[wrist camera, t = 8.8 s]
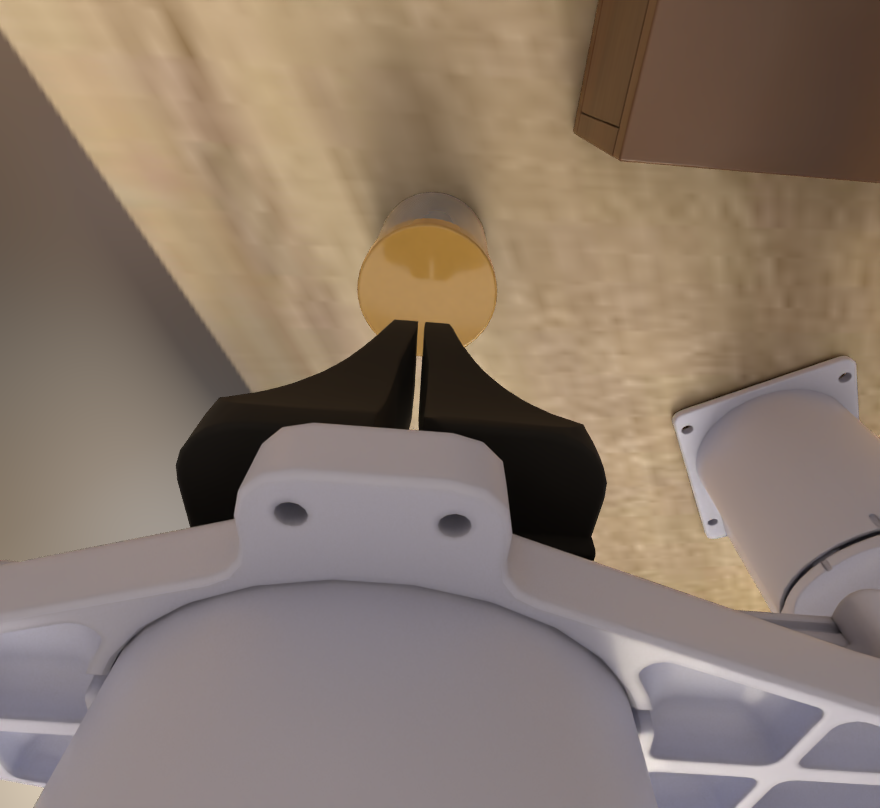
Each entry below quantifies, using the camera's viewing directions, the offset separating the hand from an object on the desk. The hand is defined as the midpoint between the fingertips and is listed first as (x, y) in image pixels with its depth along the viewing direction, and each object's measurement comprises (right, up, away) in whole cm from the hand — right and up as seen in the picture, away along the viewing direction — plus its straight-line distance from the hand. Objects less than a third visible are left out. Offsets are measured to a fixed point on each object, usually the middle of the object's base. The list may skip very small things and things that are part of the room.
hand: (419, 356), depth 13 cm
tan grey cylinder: (0, +5, +8) cm, 9 cm away
